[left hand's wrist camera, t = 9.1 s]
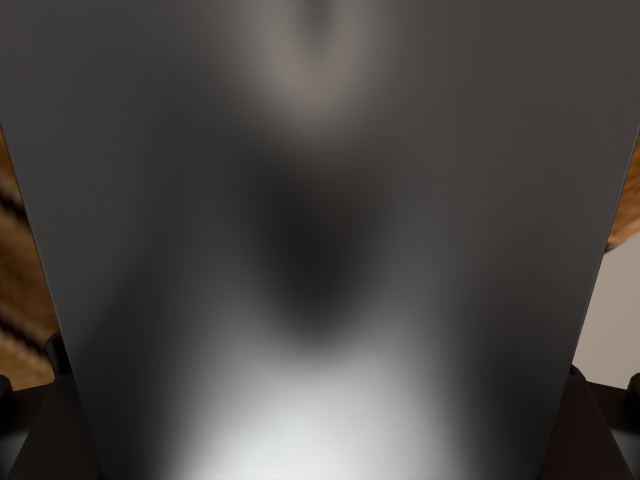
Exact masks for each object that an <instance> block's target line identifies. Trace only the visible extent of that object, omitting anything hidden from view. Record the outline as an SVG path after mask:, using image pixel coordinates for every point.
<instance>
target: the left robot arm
mask: <svg viewBox="0 0 640 480" xmlns="http://www.w3.org/2000/svg"><path fill="white" fill-rule="evenodd" d="M45 346H46V349H47V352H48V355H49V359H50V362H51V365H52V368H53V372H54V375H55V379H54V381H53V383H50V384H47V385H42V386H37V387H32V388H28V389H23V390H18V391H13V389H12V386H11V383H10V380H9V379H8V378H7V377H5V376H4V375H0V480H104V478H103V475H102V472H101V468H100V465H99V461H98V458H97V454H96V451H95V448H94V444H93V441H92V437H91V434H90V431H89V427H88V424H87V420H86V417H85V414H84V410H83V407H82V403H81V400H80V397H79V393H78V390H77V386H76V383H75V380H74V376H73V373H72V369H71V366H70V363H69V359H68V356H67V352H66V349H65V345H64V342H63V339H62V335H61V332H60V331H58V332H57V333H55V334H53V335H52V336H51V337H50V338H49V339H48V340H47V341H46V342H45ZM538 480H640V373H637V374H635V375H634V376H633V377H631V379H630V382H629V385H628V388H627V390H625V389H621V388H616V387H611V386H606V385H602V384H597V383H592V382H588V381H586V379H585V377H584V376H583V374H582V373H581V372H580V371H579V369H578V368H576V367H575V366H574V365H572V364H571V368H570V371H569V375H568V378H567V381H566V385H565V388H564V392H563V395H562V399H561V402H560V405H559V409H558V412H557V416H556V419H555V422H554V426H553V429H552V433H551V436H550V440H549V443H548V446H547V450H546V453H545V457H544V460H543V463H542V467H541V470H540V474H539V477H538Z"/></svg>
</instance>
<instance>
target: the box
mask: <svg viewBox="0 0 640 480" xmlns="http://www.w3.org/2000/svg"><path fill="white" fill-rule="evenodd" d="M0 127H1V131H2V134H3V138H4V141H5V145H6V148H7V151H8V155H9V158H10V162H11V165H12V168H13V172H14V175H15V179H16V182H17V185H18V189H19V192H20V196H21V199H22V202H23V206H24V209H25V213H26V216H27V219H28V223H29V226H30V230H31V233H32V236H33V240H34V243H35V247H36V250H37V254H38V257H39V260H40V264H41V267H42V271H43V274H44V277H45V281H46V284H47V288H48V291H49V294H50V298H51V301H52V305H53V308H54V311H55V315H56V318H57V322H58V325H59V328H60V332H61V335H62V339H63V342H64V345H65V349H66V352H67V356H68V359H69V363H70V366H71V369H72V373H73V376H74V380H75V383H76V386H77V390H78V393H79V397H80V400H81V403H82V407H83V410H84V414H85V417H86V420H87V424H88V427H89V431H90V434H91V437H92V441H93V444H94V448H95V451H96V454H97V458H98V461H99V465H100V468H101V472H102V475H103V478H104V480H538V477H539V474H540V470H541V467H542V463H543V460H544V457H545V453H546V450H547V446H548V443H549V440H550V436H551V433H552V429H553V426H554V422H555V419H556V416H557V412H558V409H559V405H560V402H561V399H562V395H563V392H564V388H565V385H566V381H567V378H568V375H569V371H570V368H571V364H572V361H573V357H574V354H575V351H576V347H577V344H578V340H579V337H580V334H581V330H582V327H583V323H584V320H585V316H586V313H587V310H588V306H589V303H590V299H591V296H592V293H593V289H594V286H595V282H596V279H597V275H598V272H599V269H600V265H601V262H602V258H603V255H604V252H605V248H606V245H607V241H608V238H609V234H610V231H611V228H612V224H613V221H614V217H615V214H616V211H617V207H618V204H619V200H620V197H621V193H622V190H623V187H624V183H625V180H626V176H627V173H628V169H629V166H630V163H631V159H632V156H633V152H634V149H635V146H636V142H637V139H638V135H639V132H640V0H0Z"/></svg>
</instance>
